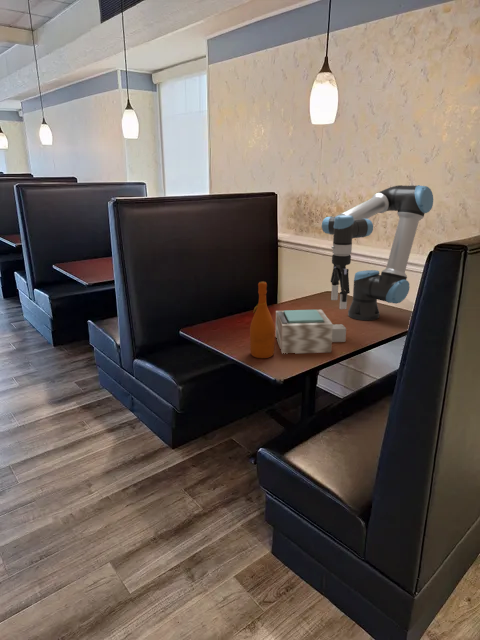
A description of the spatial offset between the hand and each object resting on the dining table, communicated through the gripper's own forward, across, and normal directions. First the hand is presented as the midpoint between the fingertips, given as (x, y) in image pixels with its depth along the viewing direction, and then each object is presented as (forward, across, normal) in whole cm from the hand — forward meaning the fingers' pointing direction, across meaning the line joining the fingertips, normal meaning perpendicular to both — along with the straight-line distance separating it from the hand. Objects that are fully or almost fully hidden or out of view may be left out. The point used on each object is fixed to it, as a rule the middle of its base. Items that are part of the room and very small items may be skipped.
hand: (338, 304), depth 183 cm
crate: (+16, +4, -16) cm, 23 cm away
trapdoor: (+4, +4, -16) cm, 17 cm away
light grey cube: (+16, 0, 0) cm, 16 cm away
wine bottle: (+16, +14, -34) cm, 40 cm away
